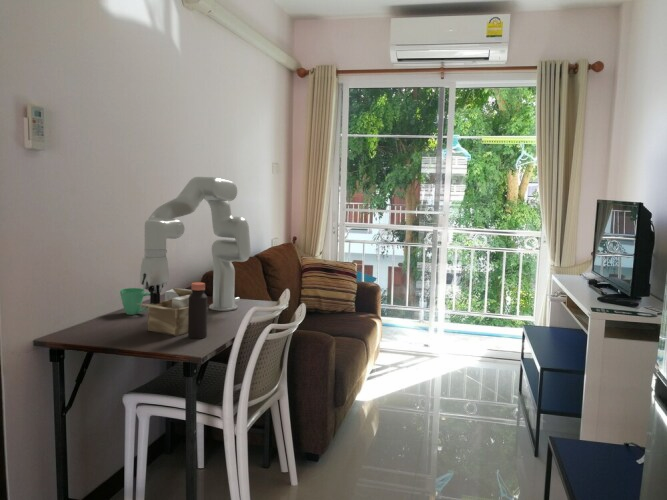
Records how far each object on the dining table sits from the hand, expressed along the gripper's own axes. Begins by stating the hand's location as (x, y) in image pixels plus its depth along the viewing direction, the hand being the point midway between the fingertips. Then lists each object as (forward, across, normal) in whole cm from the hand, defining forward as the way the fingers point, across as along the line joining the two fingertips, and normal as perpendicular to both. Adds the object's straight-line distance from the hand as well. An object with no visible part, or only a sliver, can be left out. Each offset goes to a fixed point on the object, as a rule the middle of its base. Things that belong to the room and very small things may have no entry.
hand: (155, 303), depth 203 cm
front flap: (+1, 0, 0) cm, 1 cm away
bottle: (+12, -8, +13) cm, 20 cm away
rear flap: (0, -18, 0) cm, 18 cm away
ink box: (+12, -26, -12) cm, 31 cm away
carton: (+12, -12, 0) cm, 17 cm away
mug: (+12, -20, -30) cm, 38 cm away
